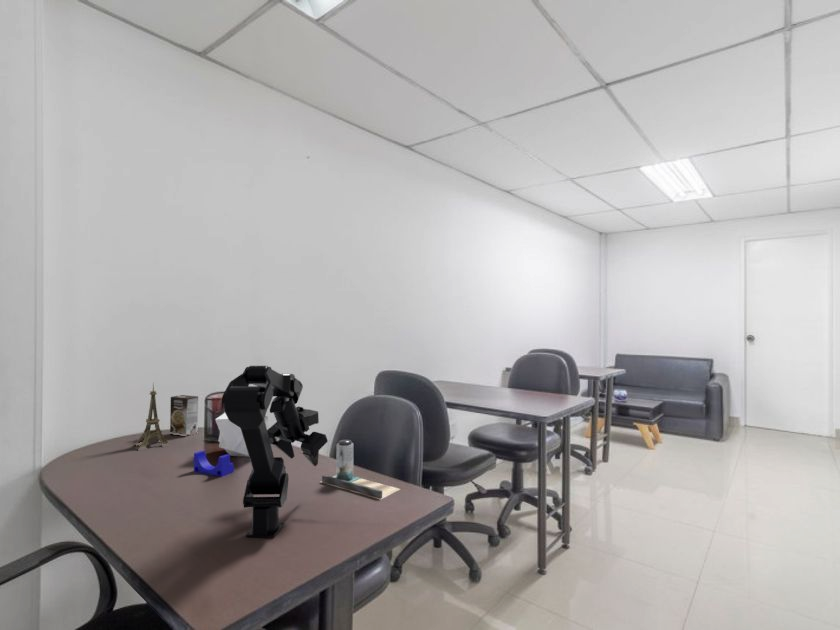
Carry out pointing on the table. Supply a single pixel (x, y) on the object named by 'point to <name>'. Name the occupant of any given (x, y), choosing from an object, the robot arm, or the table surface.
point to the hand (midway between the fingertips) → (304, 461)
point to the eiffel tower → (150, 421)
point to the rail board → (361, 486)
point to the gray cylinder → (344, 460)
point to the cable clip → (205, 467)
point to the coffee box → (184, 414)
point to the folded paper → (232, 436)
